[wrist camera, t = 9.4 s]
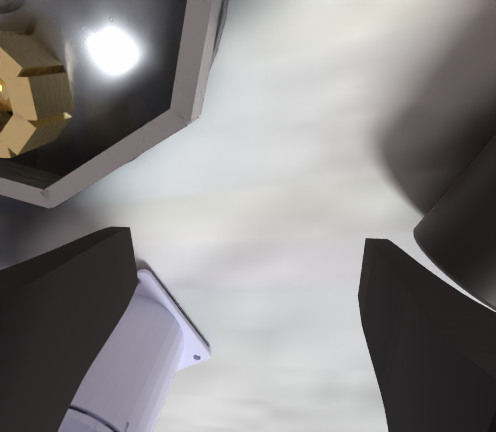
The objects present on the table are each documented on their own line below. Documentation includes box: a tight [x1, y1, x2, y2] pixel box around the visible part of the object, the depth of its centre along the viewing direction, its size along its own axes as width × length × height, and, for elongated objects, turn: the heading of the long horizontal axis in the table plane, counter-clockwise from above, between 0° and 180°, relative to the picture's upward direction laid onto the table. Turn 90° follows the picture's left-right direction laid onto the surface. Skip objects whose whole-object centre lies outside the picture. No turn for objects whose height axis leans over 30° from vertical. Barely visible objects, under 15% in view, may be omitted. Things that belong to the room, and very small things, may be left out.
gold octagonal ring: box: [0, 31, 74, 158], centre depth 18 cm, size 5×5×3 cm
